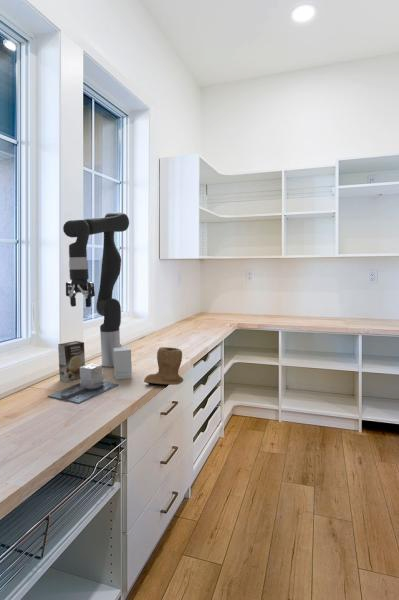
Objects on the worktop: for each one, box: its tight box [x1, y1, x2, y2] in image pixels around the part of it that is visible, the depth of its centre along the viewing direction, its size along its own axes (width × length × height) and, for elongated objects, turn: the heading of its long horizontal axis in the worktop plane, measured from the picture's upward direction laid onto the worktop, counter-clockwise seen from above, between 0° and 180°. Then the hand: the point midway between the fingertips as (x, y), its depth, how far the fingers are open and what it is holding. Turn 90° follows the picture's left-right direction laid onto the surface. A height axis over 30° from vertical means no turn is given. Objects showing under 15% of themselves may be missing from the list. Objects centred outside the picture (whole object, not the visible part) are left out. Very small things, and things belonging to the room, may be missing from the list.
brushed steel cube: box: [79, 362, 104, 386], centre depth 150 cm, size 6×6×7 cm
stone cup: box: [143, 346, 184, 386], centre depth 154 cm, size 15×12×15 cm
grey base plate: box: [47, 380, 120, 405], centre depth 147 cm, size 22×16×6 cm
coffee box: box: [57, 340, 86, 384], centre depth 162 cm, size 9×6×16 cm
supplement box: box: [113, 346, 133, 381], centre depth 164 cm, size 7×7×13 cm
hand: (80, 306), depth 157 cm, fingers open, 8 cm apart
